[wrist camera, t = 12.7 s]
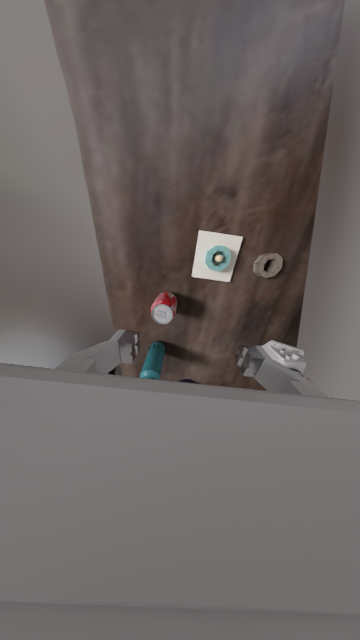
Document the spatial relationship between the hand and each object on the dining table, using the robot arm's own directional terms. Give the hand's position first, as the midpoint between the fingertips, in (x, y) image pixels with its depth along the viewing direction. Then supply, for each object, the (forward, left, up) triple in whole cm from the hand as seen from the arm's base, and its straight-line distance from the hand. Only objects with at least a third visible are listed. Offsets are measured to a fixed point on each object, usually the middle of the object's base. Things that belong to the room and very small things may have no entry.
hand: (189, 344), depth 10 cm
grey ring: (-23, -7, -34) cm, 42 cm away
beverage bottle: (+7, +28, -34) cm, 45 cm away
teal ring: (-8, -7, -33) cm, 35 cm away
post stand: (-8, -7, -34) cm, 36 cm away
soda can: (+5, +8, -34) cm, 36 cm away
